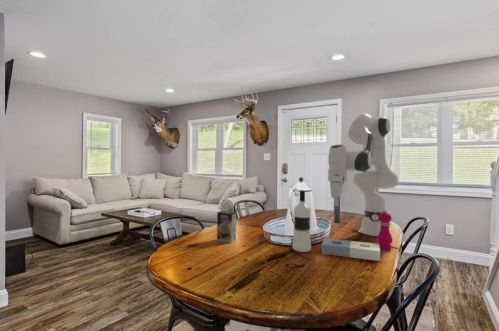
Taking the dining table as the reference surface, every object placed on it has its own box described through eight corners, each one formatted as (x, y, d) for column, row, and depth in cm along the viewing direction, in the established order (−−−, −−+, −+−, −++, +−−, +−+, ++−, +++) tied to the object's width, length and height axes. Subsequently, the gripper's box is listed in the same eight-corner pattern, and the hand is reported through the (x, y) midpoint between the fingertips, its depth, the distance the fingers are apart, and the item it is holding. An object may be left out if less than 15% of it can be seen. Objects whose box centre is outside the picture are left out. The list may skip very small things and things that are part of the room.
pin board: (324, 246, 150) (324, 238, 150) (379, 253, 140) (379, 243, 140) (321, 253, 139) (321, 244, 138) (380, 261, 129) (380, 251, 129)
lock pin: (333, 221, 143) (334, 193, 143) (340, 222, 142) (341, 194, 142) (333, 222, 140) (333, 194, 140) (340, 223, 139) (340, 194, 139)
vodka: (291, 247, 149) (291, 189, 148) (308, 247, 149) (309, 189, 148) (294, 252, 139) (295, 191, 139) (313, 252, 140) (313, 191, 139)
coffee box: (216, 241, 158) (216, 212, 158) (222, 238, 164) (222, 210, 164) (231, 243, 154) (231, 213, 154) (236, 240, 160) (236, 211, 160)
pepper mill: (394, 250, 144) (394, 211, 143) (378, 249, 145) (379, 210, 145) (390, 246, 151) (390, 208, 150) (375, 245, 152) (376, 208, 152)
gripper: (333, 176, 152) (332, 202, 152) (328, 178, 133) (328, 207, 133) (345, 176, 149) (345, 202, 150) (342, 178, 130) (342, 208, 131)
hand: (337, 205), depth 141 cm, fingers closed on lock pin, 3 cm apart
